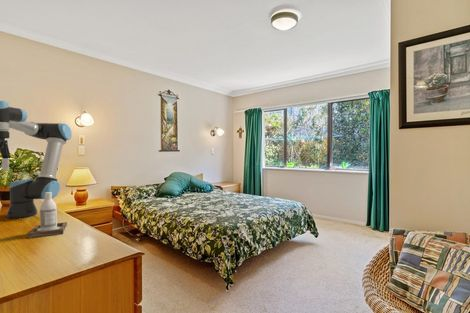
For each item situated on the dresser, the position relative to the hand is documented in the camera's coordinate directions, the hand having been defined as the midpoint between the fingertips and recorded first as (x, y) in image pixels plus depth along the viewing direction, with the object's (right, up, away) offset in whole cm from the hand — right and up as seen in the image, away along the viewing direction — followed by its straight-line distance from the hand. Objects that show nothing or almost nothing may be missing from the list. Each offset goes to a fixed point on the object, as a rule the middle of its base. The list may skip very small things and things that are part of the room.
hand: (0, 171), depth 130 cm
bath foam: (+25, -31, 0) cm, 40 cm away
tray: (+25, -32, 0) cm, 40 cm away
